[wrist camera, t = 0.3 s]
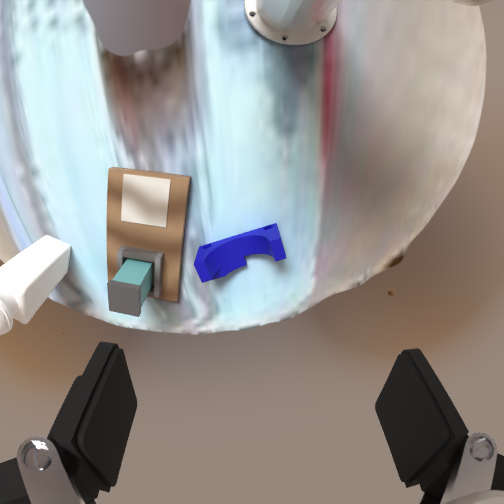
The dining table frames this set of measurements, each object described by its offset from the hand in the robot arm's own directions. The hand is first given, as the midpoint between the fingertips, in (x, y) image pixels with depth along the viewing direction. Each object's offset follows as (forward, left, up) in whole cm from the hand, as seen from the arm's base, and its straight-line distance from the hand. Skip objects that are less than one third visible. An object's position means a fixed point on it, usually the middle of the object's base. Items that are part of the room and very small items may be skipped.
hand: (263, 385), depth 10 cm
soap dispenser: (+17, -31, -36) cm, 51 cm away
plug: (+16, -14, -34) cm, 41 cm away
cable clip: (+11, +1, -36) cm, 38 cm away
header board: (+11, -14, -36) cm, 40 cm away
